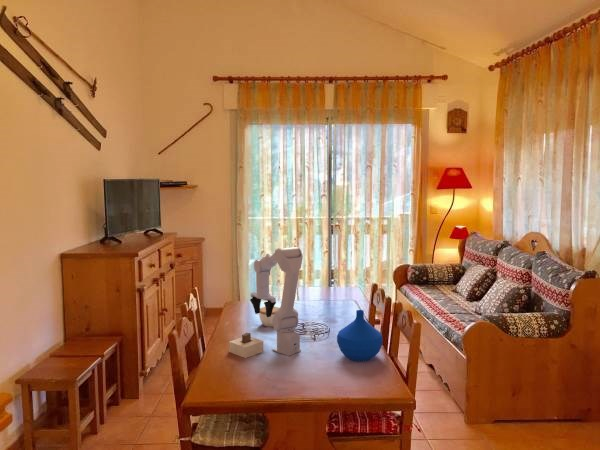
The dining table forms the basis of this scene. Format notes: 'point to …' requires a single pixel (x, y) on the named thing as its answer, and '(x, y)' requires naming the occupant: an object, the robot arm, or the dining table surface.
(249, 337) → the brown rectangular block
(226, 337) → the dining table surface
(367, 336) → the vase
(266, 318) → the lidded jar
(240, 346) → the cream square hole block
